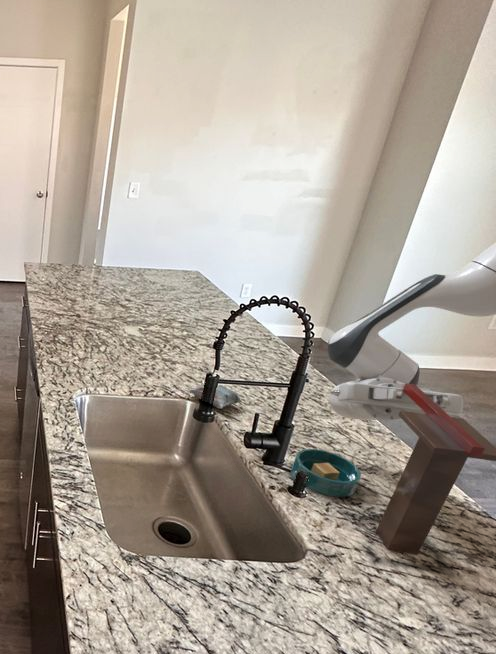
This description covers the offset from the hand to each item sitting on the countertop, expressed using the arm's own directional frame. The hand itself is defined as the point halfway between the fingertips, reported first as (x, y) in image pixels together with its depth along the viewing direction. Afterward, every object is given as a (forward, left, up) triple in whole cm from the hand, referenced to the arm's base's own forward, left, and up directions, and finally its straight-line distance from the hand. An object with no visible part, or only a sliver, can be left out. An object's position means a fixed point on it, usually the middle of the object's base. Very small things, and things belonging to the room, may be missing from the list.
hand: (422, 397), depth 99 cm
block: (+7, -8, -27) cm, 29 cm away
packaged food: (+25, -40, -27) cm, 54 cm away
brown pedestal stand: (0, +10, -27) cm, 29 cm away
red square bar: (0, +6, -1) cm, 6 cm away
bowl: (+7, -8, -27) cm, 29 cm away
